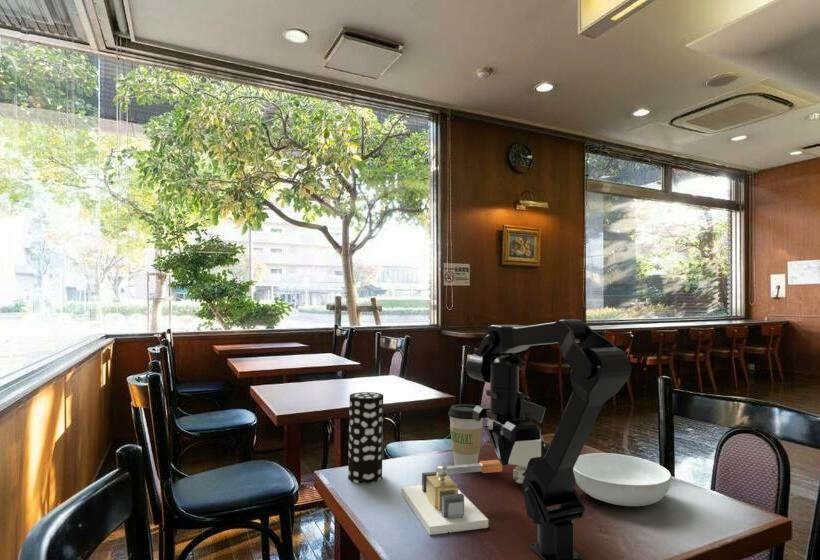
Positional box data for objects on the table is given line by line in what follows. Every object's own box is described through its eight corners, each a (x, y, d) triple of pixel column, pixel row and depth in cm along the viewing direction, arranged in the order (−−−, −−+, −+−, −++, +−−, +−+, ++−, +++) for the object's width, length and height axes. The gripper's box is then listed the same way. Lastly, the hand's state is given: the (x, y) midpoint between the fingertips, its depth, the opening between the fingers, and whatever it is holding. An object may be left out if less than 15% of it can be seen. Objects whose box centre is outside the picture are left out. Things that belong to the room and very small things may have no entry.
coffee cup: (442, 459, 134) (442, 404, 135) (474, 456, 137) (475, 403, 138) (456, 472, 125) (456, 412, 126) (490, 468, 128) (491, 410, 128)
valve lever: (438, 482, 102) (438, 468, 102) (435, 478, 104) (435, 464, 104) (502, 476, 106) (502, 462, 106) (497, 472, 108) (497, 459, 108)
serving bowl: (569, 476, 123) (569, 448, 124) (661, 487, 117) (661, 458, 117) (570, 510, 103) (570, 477, 104) (681, 525, 97) (681, 490, 97)
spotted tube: (341, 479, 119) (342, 396, 119) (360, 469, 126) (361, 391, 127) (370, 486, 115) (371, 400, 116) (388, 475, 122) (389, 394, 123)
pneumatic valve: (549, 487, 115) (550, 436, 116) (499, 483, 118) (499, 433, 118) (548, 479, 121) (548, 430, 121) (500, 475, 123) (500, 427, 124)
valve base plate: (488, 527, 95) (488, 519, 95) (429, 535, 91) (429, 526, 91) (451, 488, 114) (451, 482, 114) (401, 493, 111) (401, 486, 111)
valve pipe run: (467, 517, 96) (467, 494, 96) (444, 519, 94) (444, 497, 95) (439, 486, 111) (439, 467, 111) (419, 488, 110) (419, 469, 110)
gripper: (565, 393, 93) (565, 477, 92) (517, 378, 111) (517, 448, 110) (512, 396, 90) (512, 482, 89) (471, 379, 107) (471, 451, 107)
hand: (503, 464), depth 99 cm, fingers closed
